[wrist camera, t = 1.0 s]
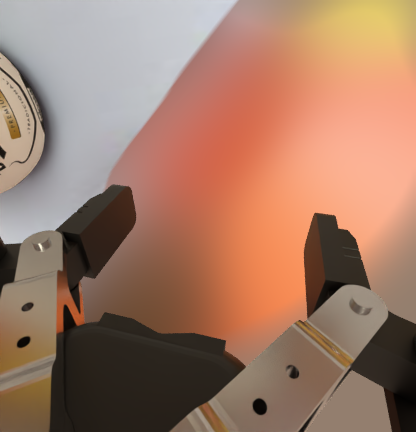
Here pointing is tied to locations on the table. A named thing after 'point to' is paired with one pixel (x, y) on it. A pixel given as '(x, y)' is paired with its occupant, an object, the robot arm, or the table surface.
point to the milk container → (18, 127)
